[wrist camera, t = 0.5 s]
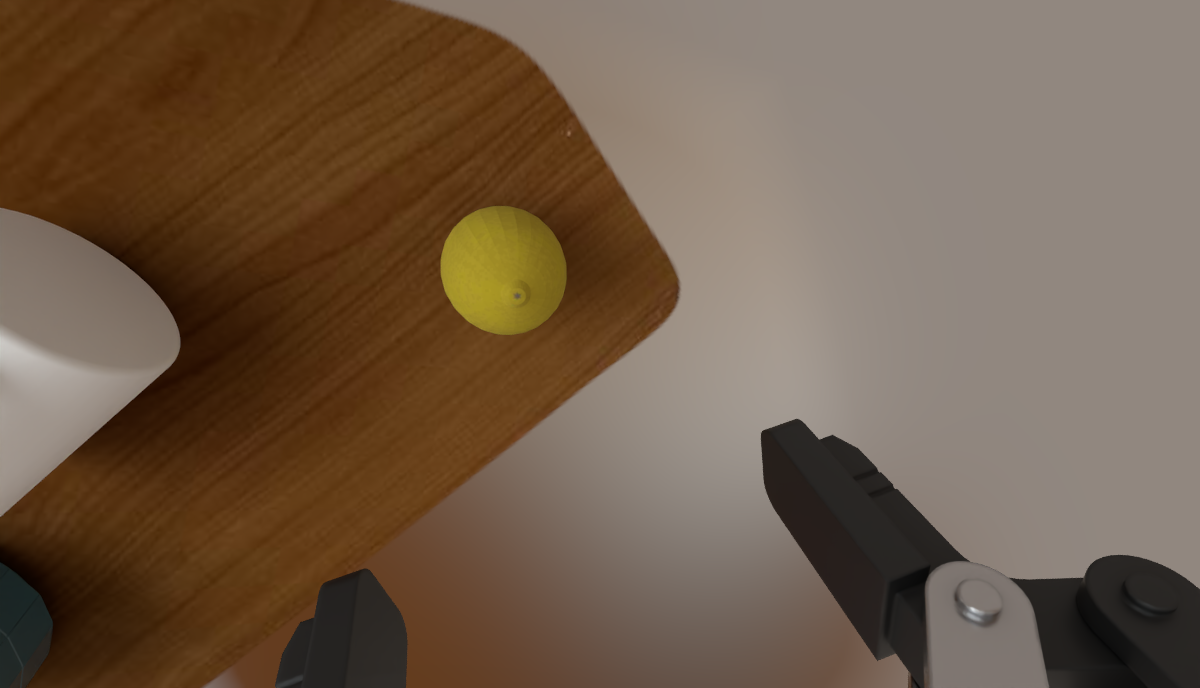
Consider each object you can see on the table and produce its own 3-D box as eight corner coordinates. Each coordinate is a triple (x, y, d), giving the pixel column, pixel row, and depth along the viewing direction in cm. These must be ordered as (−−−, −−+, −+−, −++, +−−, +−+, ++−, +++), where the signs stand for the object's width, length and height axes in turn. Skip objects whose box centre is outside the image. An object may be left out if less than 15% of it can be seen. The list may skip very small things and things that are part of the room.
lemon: (564, 222, 29) (609, 261, 22) (520, 314, 31) (549, 378, 24) (464, 173, 27) (479, 200, 20) (420, 276, 28) (420, 334, 21)
